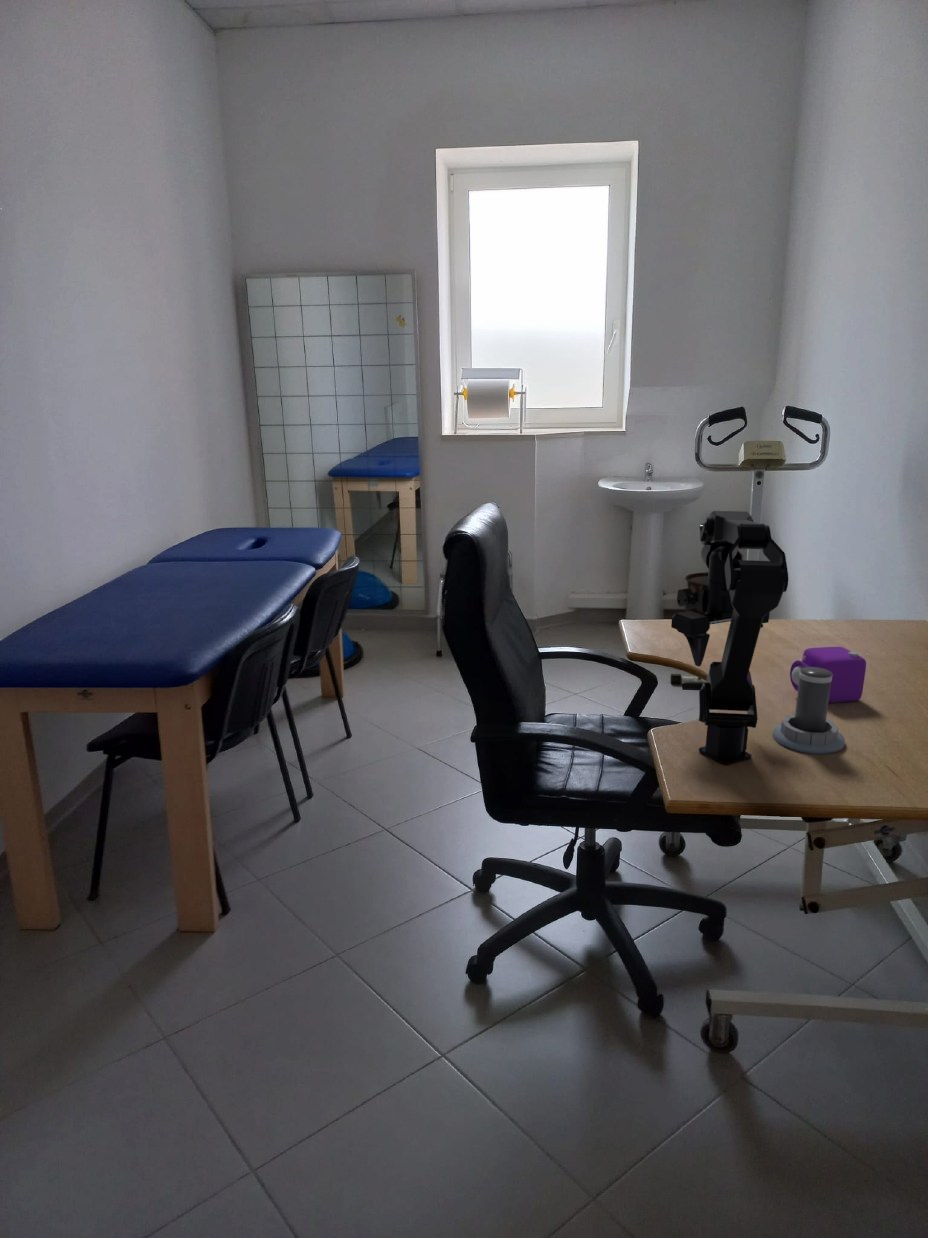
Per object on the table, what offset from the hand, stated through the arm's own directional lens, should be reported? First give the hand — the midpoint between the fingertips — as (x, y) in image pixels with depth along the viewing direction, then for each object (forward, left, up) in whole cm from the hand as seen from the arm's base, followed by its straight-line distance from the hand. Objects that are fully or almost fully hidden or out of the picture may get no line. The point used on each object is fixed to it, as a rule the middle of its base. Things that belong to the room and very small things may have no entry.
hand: (716, 662), depth 158 cm
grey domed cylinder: (+10, -14, -11) cm, 20 cm away
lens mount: (+10, -14, -12) cm, 21 cm away
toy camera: (+30, 0, -12) cm, 32 cm away
